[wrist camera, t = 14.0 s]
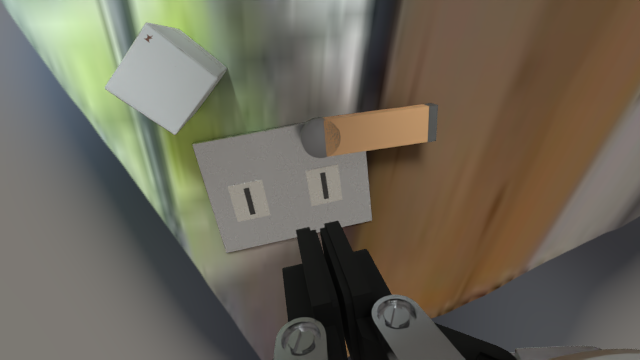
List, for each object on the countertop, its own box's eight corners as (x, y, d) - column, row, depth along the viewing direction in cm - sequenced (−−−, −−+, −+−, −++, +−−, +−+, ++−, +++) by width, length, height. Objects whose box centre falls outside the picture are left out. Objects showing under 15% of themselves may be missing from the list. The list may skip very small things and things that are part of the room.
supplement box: (144, 75, 40) (99, 86, 29) (178, 26, 39) (145, 18, 27) (196, 113, 43) (174, 137, 31) (230, 69, 42) (219, 77, 30)
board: (193, 142, 44) (189, 149, 41) (360, 112, 47) (367, 116, 44) (226, 250, 51) (225, 261, 49) (370, 218, 54) (376, 227, 51)
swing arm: (302, 156, 44) (304, 161, 43) (298, 119, 42) (299, 122, 41) (429, 138, 47) (435, 141, 45) (431, 102, 45) (437, 104, 43)
